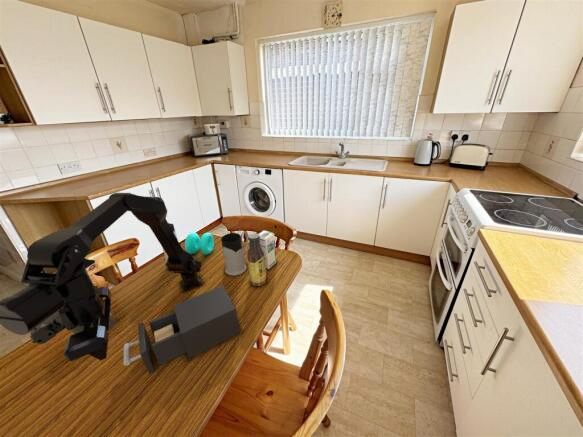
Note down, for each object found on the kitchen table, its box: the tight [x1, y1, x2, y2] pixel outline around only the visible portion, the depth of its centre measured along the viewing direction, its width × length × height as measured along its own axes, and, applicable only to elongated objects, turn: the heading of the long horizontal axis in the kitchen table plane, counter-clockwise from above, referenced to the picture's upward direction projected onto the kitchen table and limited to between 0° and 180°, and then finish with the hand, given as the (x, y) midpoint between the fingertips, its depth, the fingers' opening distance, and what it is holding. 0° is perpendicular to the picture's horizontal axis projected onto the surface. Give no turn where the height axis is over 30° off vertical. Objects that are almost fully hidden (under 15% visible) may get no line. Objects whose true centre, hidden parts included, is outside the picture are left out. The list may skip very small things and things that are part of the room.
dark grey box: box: [173, 285, 241, 359], centre depth 70 cm, size 15×12×10 cm
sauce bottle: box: [246, 232, 267, 287], centre depth 87 cm, size 7×6×20 cm
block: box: [153, 324, 175, 343], centre depth 65 cm, size 4×4×4 cm
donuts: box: [184, 232, 215, 256], centre depth 109 cm, size 10×10×10 cm
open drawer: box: [123, 310, 187, 375], centre depth 64 cm, size 18×10×8 cm, turn 123°
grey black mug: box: [220, 231, 249, 276], centre depth 98 cm, size 9×14×15 cm, turn 151°
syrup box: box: [258, 230, 278, 270], centre depth 98 cm, size 6×6×14 cm
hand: (104, 344), depth 56 cm, fingers open, 8 cm apart
